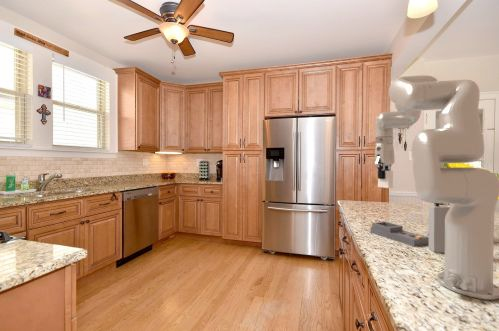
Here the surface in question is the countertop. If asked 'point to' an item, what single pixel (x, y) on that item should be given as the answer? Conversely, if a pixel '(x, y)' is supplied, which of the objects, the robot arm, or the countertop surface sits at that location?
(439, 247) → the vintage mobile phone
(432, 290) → the countertop surface
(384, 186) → the charger
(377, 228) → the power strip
